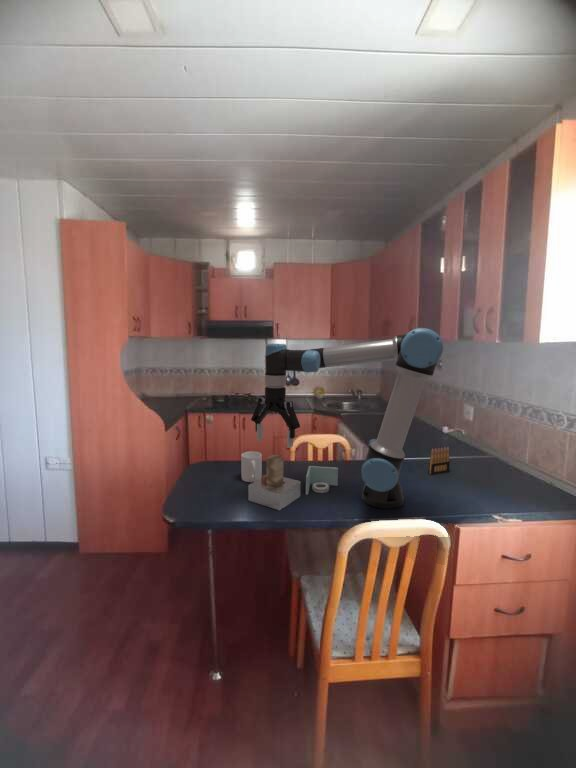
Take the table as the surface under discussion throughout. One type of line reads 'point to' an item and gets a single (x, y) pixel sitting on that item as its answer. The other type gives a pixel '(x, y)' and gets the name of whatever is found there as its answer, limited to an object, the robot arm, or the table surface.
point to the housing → (274, 493)
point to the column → (274, 471)
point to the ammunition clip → (439, 461)
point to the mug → (251, 466)
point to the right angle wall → (321, 478)
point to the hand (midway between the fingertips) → (274, 443)
